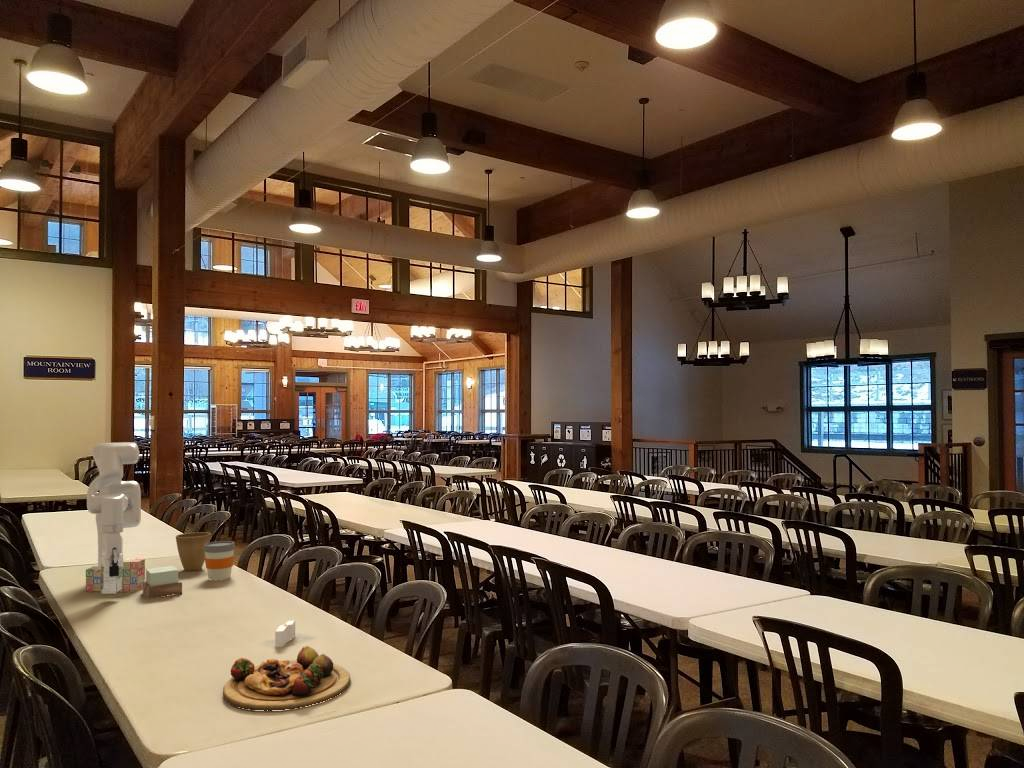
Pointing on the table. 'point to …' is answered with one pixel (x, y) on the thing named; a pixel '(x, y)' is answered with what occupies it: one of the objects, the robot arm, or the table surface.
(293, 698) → the wooden plate with food
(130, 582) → the stack of blocks
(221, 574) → the reusable coffee cup
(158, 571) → the tower top block
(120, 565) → the syrup box
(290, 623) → the napkin holder
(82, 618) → the table surface
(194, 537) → the plant pot
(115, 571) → the robot arm
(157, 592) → the tower base block
